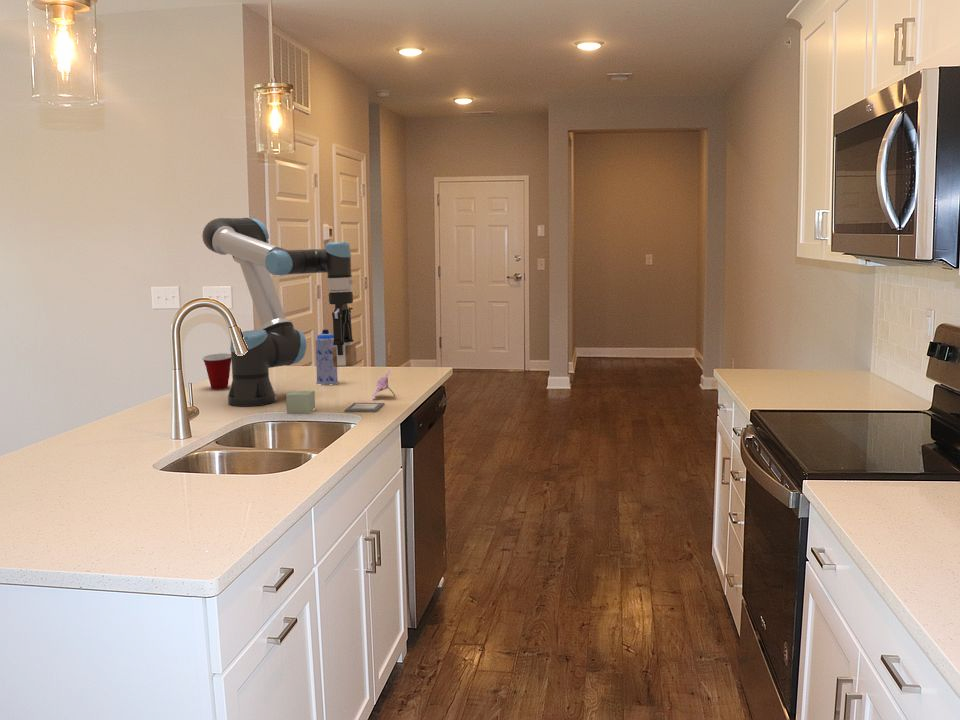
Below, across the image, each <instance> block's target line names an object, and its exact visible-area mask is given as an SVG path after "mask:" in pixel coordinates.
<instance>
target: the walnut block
mask: <svg viewBox="0 0 960 720" xmlns="http://www.w3.org/2000/svg"><path fill="white" fill-rule="evenodd" d="M345 352H346V365H345V366H337V352H336V347H333V348H332V354H333V367H337V368H339V367H341V368H342V367H344V368H345V367H353V366H355V365H357V364H358V361H357V360H358V359H357V346H356V344H352V345H347V346H345Z"/></svg>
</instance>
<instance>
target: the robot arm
mask: <svg viewBox="0 0 960 720" xmlns="http://www.w3.org/2000/svg"><path fill="white" fill-rule="evenodd" d="M201 237H202V241H203V244H204V246H205V247H206V248H207V250H209V251H212V252H213V253H216V254H219V255H222V256H223V255H230V256H232V259H233V261H234V262H236V263H238V264H239V266H240V268H241V270H242V271H241V272H242V274H243V276H244V280H245V282H246V286H247V289H248V291H249V294H250V298H251V299H252V303H253V306H254V309H255V311H256V314H257V317H258V320H259V323H260V325H261V328H260V329H252V330H244V331H241V332H242V334H243V337H244V340H245V342H246V344H247V346H248V352H247V353H246V354H245V355H243V356H237V355H236V354H235V351H234V348H233V343H232V340H231V339H230V348H229V349H230V350H229V351H230V354H231V376H232V377H231V378H232V382H231V385H230V389H229V392H228V394H227V395H228V396H227V403H228V405H230V406H235V407H236V406H237V407H253V406H254V407H256V406H262V405H269V404H272V403H275V402H276V394H275V393H276V392H275V391H274V388H273V386H272V385H273V384H272V382H271V380H270V375H269V372H270V370H269V369H270V368H276V367H277V368H278V367H284V366H291V365H295V364H297V363H300V362H301V361H302V360H303V359H304V357H305V355H306V351H307V340H306V336H305V334H304V333H303V332H302V330H299V329H297V328H295V327H294V324H293V322H292V321H291V320H288V319H287V318H286V315H285V314H286V313H285V312H284V310H283V307H282V306H283V305H282V304H281V300H280V299H279V295H278V292H277V289H276V287H275V284H274V280H273V278H272V275H273V276H289V275H299V274H300V275H302V274H305V275H306V274H325V273H327V289H328V291H329V293H328V303H329V305H334V310H333V311H332V312H331V315H332V329H333V332H332V333H333V334H332V335H333V336H334V343H333V345H336V352H337V366H345V365H346V352H345V346H347V345H351V343H353V342H354V339H353V328H352V317H351V316H352V314H351V313H352V312H351V311H352V309H351V308H349V306H348V305H349V304H353V303H354V295H353V292H352V290H353V283H354V280H353V278H352V277H353V276H352V261H351V260H352V254H351V248H350V246H351V245H350V243H349V242H347V241H337V242H336V241H334V242H333V241H332V242H329V241H328V242H327V243H326V244H325V248H318V249H317V248H313V249H311V248H310V249H309V248H307V249H286V248H283V247H279V246H277V245H274V244H271V243H269V242H270V241H269V239H270V236H269V232H268V229H267V227H266V225H265V224H264V223H263V221H260V220H258V219H257V218H252V217H251V218H249V217H242V218H238V217H235V218H234V217H231V218H230V217H228V218H227V217H226V218H225V217H219V218H214V219H212V220H210V221H209V222H208V223H207V224H206V225H205V226H204V228H203V230H202V235H201ZM345 367H346V366H345Z"/></svg>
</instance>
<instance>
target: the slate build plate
mask: <svg viewBox="0 0 960 720" xmlns="http://www.w3.org/2000/svg"><path fill="white" fill-rule="evenodd" d="M383 405H384V406H385V402H353V403H352V404H350V405H349V406H347V407H346V408H345V409H344V412H345V411H346V412H345V413H377V412H378V411H379V410H381V409H382V408H383V407H384V406H383ZM377 410H378V411H377ZM376 411H377V412H376Z"/></svg>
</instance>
